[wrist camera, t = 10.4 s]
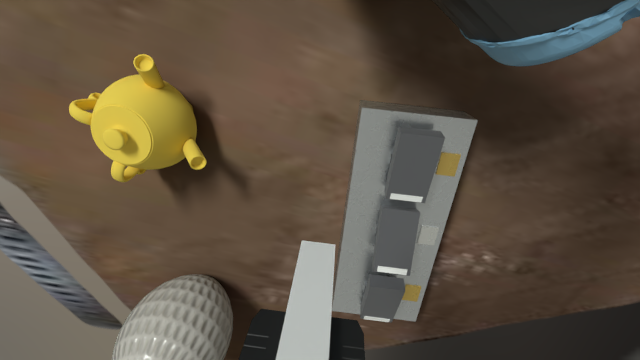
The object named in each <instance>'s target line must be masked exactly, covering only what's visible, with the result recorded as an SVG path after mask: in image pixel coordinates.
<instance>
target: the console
mask: <svg viewBox="0 0 640 360" xmlns="http://www.w3.org/2000/svg"><path fill="white" fill-rule="evenodd" d="M477 121H478V120H477V119H475V118H473V117H472V116H470V115H469V114H467V113H466V112H464V111H457V110H448V109H439V108H429V107H420V106H411V105H401V104H392V103H383V102H374V101H364V100H360V105H359V112H358V119H357V126H356V133H355V140H354V147H353V154H352V161H351V168H350V175H349V182H348V189H347V195H346V202H345V209H344V216H343V223H342V230H341V237H340V244H339V251H338V258H337V265H336V272H335V279H334V286H333V299H332V311H338V312H346V313H354V314H360V306H361V302H362V299H363V296H364V292H365V289H366V285H367V282H368V278H369V275H370V274H371V275H379V276H387V277H395V278H403V279H404V283H405V293H404V295H403V298H402V300H401V302H400V305H399V307H398V309H397V312H396V314H395V316H394V318H393V319H400V320H408V321H415V322H416V319H417V316H418V312H419V309H420V306H421V303H422V299H423V296H424V293H425V290H426V286H427V283H428V280H429V277H430V273H431V270H432V267H433V264H434V260H435V257H436V254H437V251H438V247H439V244H440V241H441V238H442V234H443V231H444V228H445V225H446V221H447V218H448V215H449V212H450V208H451V205H452V202H453V199H454V195H455V192H456V189H457V186H458V182H459V179H460V176H461V173H462V169H463V166H464V163H465V160H466V156H467V153H468V150H469V147H470V143H471V140H472V137H473V134H474V130H475V127H476V124H477ZM398 127H407V128H416V129H425V130H434V131H441V132H442V134H443V135H444V137H445V140H444V143H443V147H442V150H441V153H440V156H439V160H438V163H437V166H436V169H435V172H434V176H433V179H432V182H431V185H430V188H429V192H428V195H427V198H426V201H425V203H419V202H410V201H402V200H393V199H386V198H385V192H384V189H385V185H386V180H387V176H388V171H389V167H390V162H391V158H392V153H393V149H394V145H395V140H396V136H397V131H398ZM380 204H381V205H390V206H398V207H407V208H415V209H417V210H418V211H420V218H419V224H418V230H417V236H416V242H415V248H414V254H413V260H412V266H411V272H410V276H406V275H398V274H390V273H382V272H374V271H373V269H372V259H373V252H374V245H375V238H376V232H377V225H378V218H379V211H380Z"/></svg>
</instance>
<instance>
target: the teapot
mask: <svg viewBox="0 0 640 360" xmlns="http://www.w3.org/2000/svg"><path fill="white" fill-rule="evenodd" d="M134 66H135V68H136V69H137V71H138V72H139V74H140V75H132V76H128V77H125V78H122V79H120V80H118V81H116V82H114V83H113V84H111V85H110V86H109V87H108V88H106V89H105V90H104V92H103V93H102V94H100V93H92V94H91V95H90V96H89V97H88V99H79V100H75V101H73V102H72V103H71V104H70V106H69V112H70V114H71V116H72V117H73V118H74V119H76V120H78V121H80V122H82V123H85V124H88V125H91V132H92V136H93V138H94V141H95V143H96V144H97V146H98V147H99V149H100V150H101V151H102V152H103V153H104V154H105V155H106V156H108V157H109V158H110V159H112V160H114V161H113V164H112V167H111V175H112V177H113V178H114V179H115V180H117V181H120V182H127V181H129V180H130V179H132V178H133V177H134V176H135V175H136V174H143V173H144V172H145V171H146V169H161V168H165V167H169V166H172V165H174V164H176V163H178V162H180V161H181V160H183V159H184V158H185V157H186V159H187V160H188V162H189V164H190V166H191V168H192V169H195V170H200V169H202V168H204V167H205V166H206V164H207V161H206V159H205V157H204V155H203V154H202V152H201V150H200V149H199V147H198V145H197V144H196V142H195V140H196V136H197V124H196V119H195V116H194V113H193V107H192V105H191V104H190V103H189V102H188V101H187V100H186V99H185V97H184V96H183V95H182V94H181V93H180V92H179V91H178V90H177V89H176V88H175V87H173V86H172V85H170V84H169V83H167V82H165V81H163V80H162V78H161V76H160V74H159V72H158V70H157V67H156V65H155V63H154V61H153V59H152V58H151V57H150V56H148V55H145V54H141V55H138V56H137V57H135V59H134ZM84 110H93V113H89V112H86V111H84ZM126 166H128V167H127V168H126V169H125V167H126Z"/></svg>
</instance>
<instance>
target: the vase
mask: <svg viewBox="0 0 640 360" xmlns="http://www.w3.org/2000/svg"><path fill="white" fill-rule="evenodd" d="M232 331H233V313H232V308H231V304H230V300H229V298H228V295H227V293H226V291H225V290H224V288H223V287H222V286H221V285H220V283H219V282H218V281H217V280H215V279H214V278H212V277H210V276H207V275H199V274H191V275H185V276H181V277H177V278H175V279H172V280H169V281H167V282H165V283H163V284H161V285H160V286H158V287H157V288H155V289H154V290H152V291H151V292H150V293H148V294H147V295H146V296H145V297H144V298H143V299H142V300H141V301H140V302H139V303H138V304H137V305H136V307H135V308H134V309H133V310H132V312H131V313H130V314H129V316H128V318H127V319H126V321H125V323H124V324H123V326H122V328H121V330H120V332H119V335H118V338H117V340H116V343H115V348H114V351H113V356H112V360H223V359H224V357H225V355H226V353H227V350H228V347H229V344H230V340H231V336H232Z"/></svg>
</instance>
